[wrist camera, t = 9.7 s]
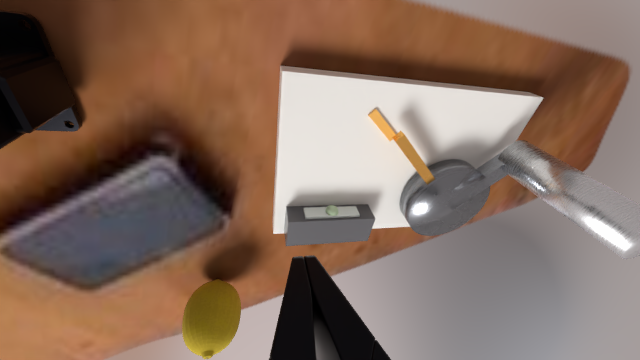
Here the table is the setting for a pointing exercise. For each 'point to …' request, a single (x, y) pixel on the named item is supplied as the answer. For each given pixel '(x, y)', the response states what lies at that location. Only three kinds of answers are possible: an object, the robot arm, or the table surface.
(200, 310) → the lemon
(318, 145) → the stand
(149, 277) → the table surface
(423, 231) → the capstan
